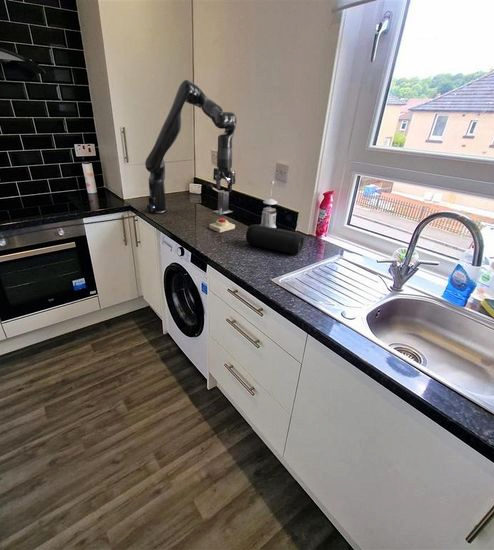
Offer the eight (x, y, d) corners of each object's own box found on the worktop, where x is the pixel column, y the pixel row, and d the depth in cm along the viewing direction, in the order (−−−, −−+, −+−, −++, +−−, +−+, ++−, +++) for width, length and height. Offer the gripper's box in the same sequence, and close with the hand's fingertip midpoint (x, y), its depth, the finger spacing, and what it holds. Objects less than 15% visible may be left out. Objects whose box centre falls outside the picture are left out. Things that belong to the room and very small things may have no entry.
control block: (219, 232, 163) (219, 225, 161) (209, 228, 168) (209, 221, 167) (234, 228, 169) (235, 221, 167) (224, 224, 175) (224, 217, 173)
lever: (209, 188, 177) (211, 183, 177) (205, 187, 179) (207, 182, 179) (225, 197, 188) (227, 193, 188) (222, 196, 190) (224, 192, 190)
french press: (277, 224, 178) (282, 180, 166) (274, 230, 168) (280, 184, 156) (260, 222, 180) (264, 178, 168) (257, 228, 170) (261, 182, 158)
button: (221, 223, 165) (222, 220, 164) (217, 221, 167) (217, 218, 166) (226, 222, 167) (227, 219, 166) (222, 220, 169) (222, 217, 168)
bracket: (221, 216, 188) (221, 193, 182) (212, 213, 193) (213, 190, 187) (232, 213, 194) (234, 191, 188) (224, 210, 199) (225, 188, 193)
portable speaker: (302, 251, 144) (305, 231, 140) (296, 258, 136) (299, 237, 132) (252, 240, 155) (254, 220, 150) (244, 246, 147) (245, 226, 142)
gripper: (209, 156, 154) (209, 189, 162) (228, 159, 145) (227, 194, 153) (220, 155, 159) (220, 187, 166) (240, 158, 149) (238, 192, 157)
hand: (223, 190), depth 159 cm, fingers open, 8 cm apart
